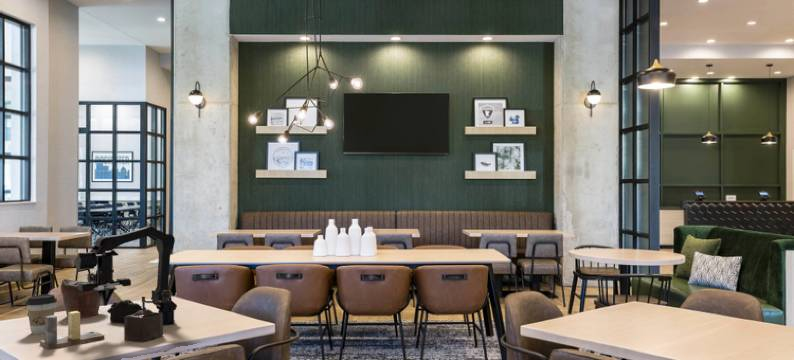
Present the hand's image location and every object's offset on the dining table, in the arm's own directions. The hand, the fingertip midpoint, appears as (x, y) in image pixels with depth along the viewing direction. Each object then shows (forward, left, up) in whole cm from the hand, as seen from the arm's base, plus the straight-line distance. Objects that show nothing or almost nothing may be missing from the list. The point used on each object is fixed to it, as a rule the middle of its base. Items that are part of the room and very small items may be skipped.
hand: (105, 305), depth 228 cm
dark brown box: (-18, +9, -12) cm, 23 cm away
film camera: (-5, -25, -12) cm, 28 cm away
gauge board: (+10, +7, -12) cm, 17 cm away
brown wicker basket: (+18, -46, -12) cm, 51 cm away
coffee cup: (+27, -15, -12) cm, 33 cm away
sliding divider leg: (+10, +7, -10) cm, 16 cm away
